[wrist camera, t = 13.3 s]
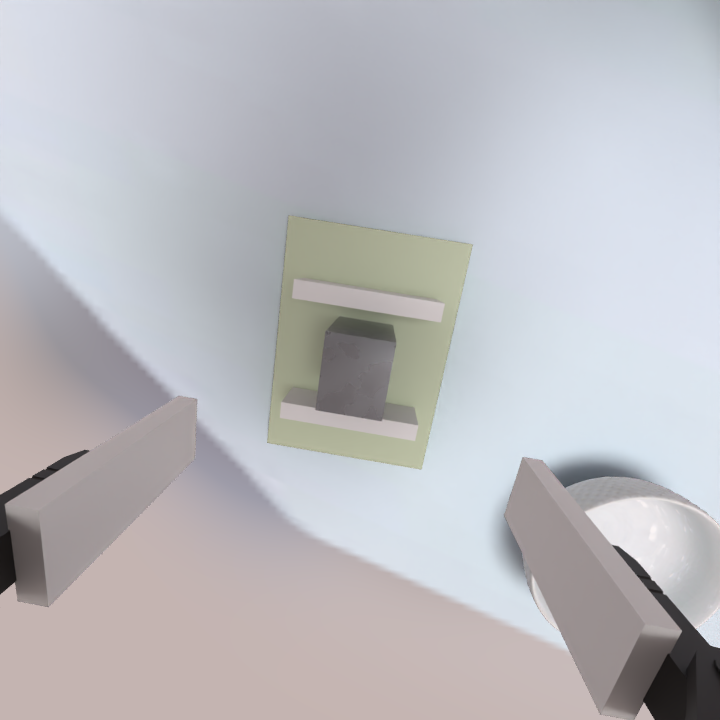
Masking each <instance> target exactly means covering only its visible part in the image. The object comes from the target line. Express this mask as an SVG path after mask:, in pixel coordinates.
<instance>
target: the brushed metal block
mask: <svg viewBox="0 0 720 720" xmlns="http://www.w3.org/2000/svg"><path fill="white" fill-rule="evenodd" d="M395 348H396V337H395V332H394V327H393V325H390V324H384V323H378V322H372V321H366V320H360V319H354V318H347V317H341V316H339V317H338V318H337V319H336V320H335V321H334V322H333V324H332V325H331V326H330V327H329V328H328V329H327V330H326V331H325V339H324V346H323V354H322V362H321V370H320V377H319V385H318V393H317V400H316V408H315V410H317V411H323V412H329V413H335V414H341V415H347V416H353V417H358V418H364V419H370V420H376V421H382V418H383V413H384V408H385V402H386V397H387V391H388V386H389V381H390V375H391V370H392V365H393V359H394V354H395Z"/></svg>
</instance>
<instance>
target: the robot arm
mask: <svg viewBox="0 0 720 720" xmlns="http://www.w3.org/2000/svg"><path fill="white" fill-rule="evenodd" d="M196 419H197V399H194V398H188V397H183V396H178V397H176V398H174V399H173V400H171V401H170V402H168V403H166V404H165V405H163V406H162V407H160V408H158V409H157V410H155V411H153V412H152V413H150V414H149V415H147V416H145V417H144V418H142V419H141V420H139V421H138V422H136V423H134V424H133V425H131V426H129V427H128V428H126V429H125V430H123V431H121V432H120V433H118V434H117V435H115V436H113V437H112V438H110V439H108V440H107V441H105V442H104V443H102V444H100V445H99V446H97V447H96V448H94V449H92V450H91V451H88V450H83V451H80V452H77V453H75V454H72V455H69V456H66V457H64V458H62V459H60V460H59V461H57V462H55V463H54V464H52V465H50V466H48V467H47V469H46V470H42V471H40V472H38V473H37V474H35V475H33V477H32V478H28V479H27V480H25V481H23V482H22V483H20V484H18V485H16V486H15V487H13V488H11V489H10V490H8V491H6V492H4V493H3V494H1V495H0V594H1V593H3V592H4V591H5V590H6V589H7V588H8V587H9V586H11V585H12V584H13V583H14V582H15V585H16V592H17V600H18V601H19V602H24V603H29V604H35V605H40V606H45V607H49V606H50V605H51V604H52V603H53V602H54V601H55V600H56V599H57V598H58V597H59V596H60V595H61V594H62V593H63V592H64V591H65V590H66V589H67V588H68V587H69V586H70V585H71V584H72V583H73V582H74V581H75V580H76V579H77V578H78V577H79V576H80V575H81V574H82V573H83V572H84V571H85V570H86V569H87V568H88V567H89V566H90V565H91V564H92V563H93V562H94V561H95V560H96V559H97V558H98V557H99V556H100V554H102V553H103V551H105V550H106V549H107V548H108V547H109V545H111V544H112V543H113V542H114V541H115V540H116V539H117V538H118V536H119V535H121V533H123V531H124V530H125V529H126V528H127V527H128V526H129V525H130V524H131V523H132V522H133V521H134V520H135V519H136V518H137V517H138V516H139V515H140V514H141V513H142V512H143V511H144V510H145V509H146V508H147V507H148V506H149V505H150V504H151V503H152V502H153V501H154V500H155V499H156V498H157V497H158V496H159V495H160V494H161V493H162V492H163V491H164V490H165V489H166V488H167V487H168V486H169V485H170V484H171V483H172V482H173V481H174V480H175V479H176V478H177V477H178V476H179V475H180V474H181V473H182V472H183V471H184V470H185V469H186V468H187V467H188V466H189V465H190V464H191V463H192V462H193V461H194V460H195V445H196ZM504 516H505V519H506V521H507V523H508V525H509V527H510V529H511V531H512V533H513V535H514V537H515V539H516V541H517V543H518V545H519V548H520V550H521V552H522V554H523V556H524V558H525V560H526V562H527V564H528V566H529V568H530V570H531V572H532V574H533V577H534V579H535V581H536V583H537V585H538V587H539V589H540V591H541V593H542V595H543V597H544V599H545V601H546V603H547V606H548V608H549V610H550V612H551V614H552V616H553V618H554V620H555V622H556V624H557V626H558V628H559V630H560V632H561V635H562V637H563V639H564V641H565V643H566V645H567V647H568V649H569V651H570V653H571V655H572V657H573V659H574V661H575V664H576V666H577V668H578V670H579V672H580V674H581V676H582V678H583V680H584V682H585V684H586V686H587V688H588V690H589V693H590V695H591V697H592V699H593V701H594V703H595V705H596V707H597V709H598V711H599V713H600V715H605V716H611V717H616V718H622V719H627V720H634V719H635V717H636V716H637V714H638V712H639V710H640V708H641V706H642V705H643V703H645V704H646V706H647V708H648V709H649V711H650V713H651V714H652V716H653V718H654V719H655V720H720V648H717V647H713V646H710V645H709V644H708V643H707V642H706V640H705V639H704V638H703V637H702V636H701V635H700V633H699V632H698V631H697V630H696V629H695V628H694V626H693V625H692V624H691V623H690V622H689V621H688V619H687V618H686V617H685V616H684V615H683V614H682V613H681V611H680V610H679V609H678V608H677V607H676V606H675V604H674V603H673V602H672V601H671V600H670V599H669V597H668V596H667V595H665V594H663V590H662V589H661V588H660V587H659V586H658V585H657V583H656V582H655V581H653V580H651V577H650V575H649V574H648V573H647V572H646V571H645V570H644V568H643V567H642V566H641V565H640V564H639V563H638V561H636V560H635V559H634V558H633V557H631V556H630V555H629V554H628V553H626V552H625V551H624V550H623V549H622V548H620V547H619V546H615V545H611V544H610V542H609V541H608V540H607V539H606V538H605V536H604V535H603V534H602V533H601V531H600V530H599V529H598V528H597V527H596V525H595V524H594V523H593V522H592V520H591V519H590V518H589V517H588V516H587V514H586V513H585V512H584V511H583V509H582V508H581V507H580V506H579V505H578V503H577V502H576V501H575V500H574V498H573V497H572V496H571V495H570V494H569V492H568V491H567V490H566V489H565V488H564V486H563V485H562V484H561V483H560V481H559V480H558V479H557V478H556V477H555V475H554V474H553V473H552V472H551V470H550V469H549V468H548V467H547V466H546V464H545V463H544V462H543V461H542V460H538V459H532V458H526V457H523V458H522V461H521V464H520V467H519V470H518V473H517V476H516V480H515V483H514V486H513V489H512V492H511V495H510V498H509V501H508V504H507V508H506V511H505V514H504Z"/></svg>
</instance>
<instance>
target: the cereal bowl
mask: <svg viewBox="0 0 720 720" xmlns="http://www.w3.org/2000/svg"><path fill="white" fill-rule="evenodd" d="M565 489H566V490H567V491H568V492H569V494H570V495H571V496H572V497H573V498H574V500H575V501H576V502H577V503H578V505H579V506H580V507H581V508H582V509H583V511H584V512H585V513H586V514H587V516H588V517H589V518H590V519H591V520H592V522H593V523H594V524H595V525H596V527H597V528H598V529H599V530H600V531H601V533H602V534H603V535H604V536H605V538H606V539H607V540H608V541H609V542H610V544H611V545H615V546H619V547H620V548H622V549H623V550H624V551H625V552H626V553H628V554H629V555H630V556H631V557H633V558H634V559H635V560H636V561H638V563H639V564H640V565H641V566H642V567H643V568H644V570H645V571H646V572H647V573H648V574H649V575H650V577H651V580H653V581H655V582H656V583H657V585H658V586H659V587H660V588H661V589H662V590H663V594H665V595H667V596H668V597H669V599H670V600H671V601H672V602H673V603H674V604H675V606H676V607H677V608H678V609H679V610H680V611H681V613H682V614H683V615H684V616H685V617H686V618H687V619H688V621H689V622H690V623H691V624H692V625H693V626H694V628H695V629H697V628H698V627H700V626H701V625H702V624H703V623H705V622H706V621H707V620H708V619H709V618H710V617H711V616H712V615H713V614H714V613H715V612H716V611H717V610H718V609H719V607H720V526H719V524H718V523H717V522H716V521H715V520H714V519H713V518H712V517H710V516H709V515H708V514H707V513H706V512H705V511H703V510H701V509H700V508H699V507H698V506H697V505H695V504H693V503H691V502H690V501H689V500H687V499H685V498H683V497H682V496H681V495H679V494H676V493H674V492H673V491H671V490H669V489H666V488H664V487H662V486H660V485H656V484H654V483H652V482H647V481H644V480H641V479H635V478H627V477H617V476H614V477H609V476H606V477H602V478H593V479H589V480H585V481H581V482H579V483H575V484H572V485H571V486H567V487H566V488H565ZM523 564H524V571H525V576H526V579H527V584H528V586H529V588H530V592H531V594H532V596H533V599H534V601H535V603H536V605H537V607H538V609H539V610H540V612H541V613H542V615H543V616H544V617H545V619H546V620H547V621H548V622H549V623H550V624H551V625H552V626H553V627H554V628H556V629H557V630H558V631H560V630H559V628H558V626H557V624H556V622H555V620H554V618H553V616H552V614H551V612H550V610H549V608H548V606H547V603H546V601H545V599H544V597H543V595H542V593H541V591H540V589H539V587H538V585H537V583H536V581H535V579H534V577H533V574H532V572H531V570H530V568H529V566H528V564H527V562H526V560H525V558H524V556H523Z"/></svg>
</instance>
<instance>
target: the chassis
mask: <svg viewBox="0 0 720 720" xmlns="http://www.w3.org/2000/svg"><path fill="white" fill-rule="evenodd" d="M472 246H473V245H472V244H466V243H460V242H453V241H447V240H441V239H434V238H428V237H422V236H415V235H409V234H403V233H396V232H390V231H384V230H378V229H371V228H365V227H359V226H352V225H346V224H340V223H333V222H327V221H321V220H314V219H308V218H302V217H296V216H289V217H288V227H287V238H286V248H285V259H284V270H283V280H282V291H281V301H280V312H279V323H278V333H277V344H276V354H275V365H274V376H273V386H272V397H271V407H270V418H269V429H268V439H267V443H271V444H277V445H282V446H288V447H294V448H300V449H306V450H311V451H317V452H323V453H329V454H334V455H340V456H346V457H352V458H358V459H363V460H369V461H375V462H381V463H387V464H392V465H398V466H404V467H410V468H415V469H422V465H423V460H424V456H425V452H426V447H427V443H428V439H429V434H430V430H431V425H432V421H433V417H434V412H435V408H436V404H437V399H438V395H439V390H440V386H441V382H442V377H443V373H444V369H445V364H446V360H447V355H448V351H449V347H450V342H451V338H452V334H453V329H454V325H455V320H456V316H457V312H458V307H459V303H460V299H461V294H462V290H463V285H464V281H465V277H466V272H467V268H468V263H469V259H470V255H471V250H472ZM339 316H341V317H347V318H354V319H360V320H366V321H372V322H378V323H384V324H390V325H393V327H394V332H395V337H396V348H395V354H394V359H393V365H392V370H391V375H390V381H389V386H388V391H387V397H386V402H385V408H384V413H383V418H382V421H376V420H370V419H364V418H358V417H353V416H347V415H341V414H335V413H329V412H323V411H317V410H315V408H316V400H317V393H318V385H319V377H320V370H321V362H322V354H323V346H324V339H325V331H326V330H327V329H328V328H329V327H330V326H331V325H332V324H333V322H334V321H335V320H336V319H337V318H338V317H339Z"/></svg>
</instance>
